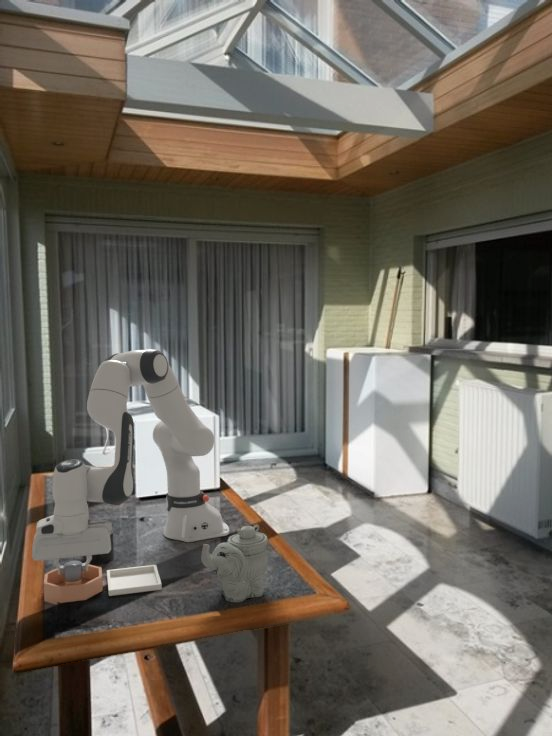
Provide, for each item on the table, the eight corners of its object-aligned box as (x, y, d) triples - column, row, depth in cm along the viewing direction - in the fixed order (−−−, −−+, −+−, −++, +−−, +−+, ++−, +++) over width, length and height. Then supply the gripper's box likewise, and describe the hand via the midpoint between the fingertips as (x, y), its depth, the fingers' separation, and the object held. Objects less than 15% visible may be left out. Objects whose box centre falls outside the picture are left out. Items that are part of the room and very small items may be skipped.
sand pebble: (81, 580, 183) (81, 566, 183) (82, 586, 179) (82, 572, 178) (64, 582, 181) (64, 568, 181) (65, 589, 177) (64, 575, 177)
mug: (85, 572, 191) (84, 542, 190) (80, 557, 202) (79, 529, 201) (117, 567, 195) (116, 538, 194) (111, 553, 206) (110, 525, 205)
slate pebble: (82, 574, 177) (82, 559, 176) (82, 580, 172) (81, 566, 172) (64, 576, 176) (64, 561, 175) (64, 583, 171) (63, 568, 171)
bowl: (101, 578, 187) (101, 561, 186) (103, 601, 172) (102, 582, 172) (46, 584, 182) (45, 567, 182) (43, 608, 168) (42, 590, 168)
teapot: (200, 605, 170) (199, 535, 168) (213, 581, 185) (213, 516, 183) (262, 609, 168) (262, 538, 166) (271, 584, 183) (270, 519, 181)
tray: (156, 572, 191) (156, 564, 190) (161, 592, 177) (161, 584, 177) (107, 578, 187) (106, 570, 186) (108, 599, 173) (108, 590, 173)
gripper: (111, 514, 179) (112, 563, 180) (32, 521, 173) (34, 571, 174) (112, 521, 172) (113, 571, 174) (30, 529, 167) (32, 581, 168)
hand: (73, 571), depth 174 cm, fingers open, 5 cm apart
